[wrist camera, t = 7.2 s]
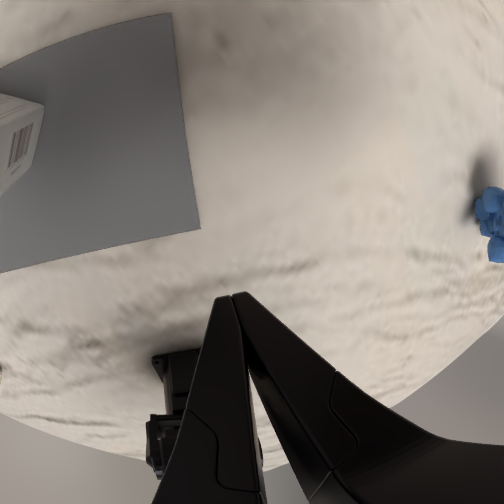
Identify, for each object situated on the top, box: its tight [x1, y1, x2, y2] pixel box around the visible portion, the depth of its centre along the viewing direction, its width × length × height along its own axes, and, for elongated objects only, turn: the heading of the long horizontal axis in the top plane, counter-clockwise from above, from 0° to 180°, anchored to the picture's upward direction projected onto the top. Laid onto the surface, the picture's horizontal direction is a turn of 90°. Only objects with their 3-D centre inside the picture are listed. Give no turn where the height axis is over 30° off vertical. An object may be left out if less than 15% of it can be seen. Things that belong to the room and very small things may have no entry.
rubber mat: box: [0, 13, 201, 273], centre depth 15 cm, size 14×22×1 cm, turn 94°
